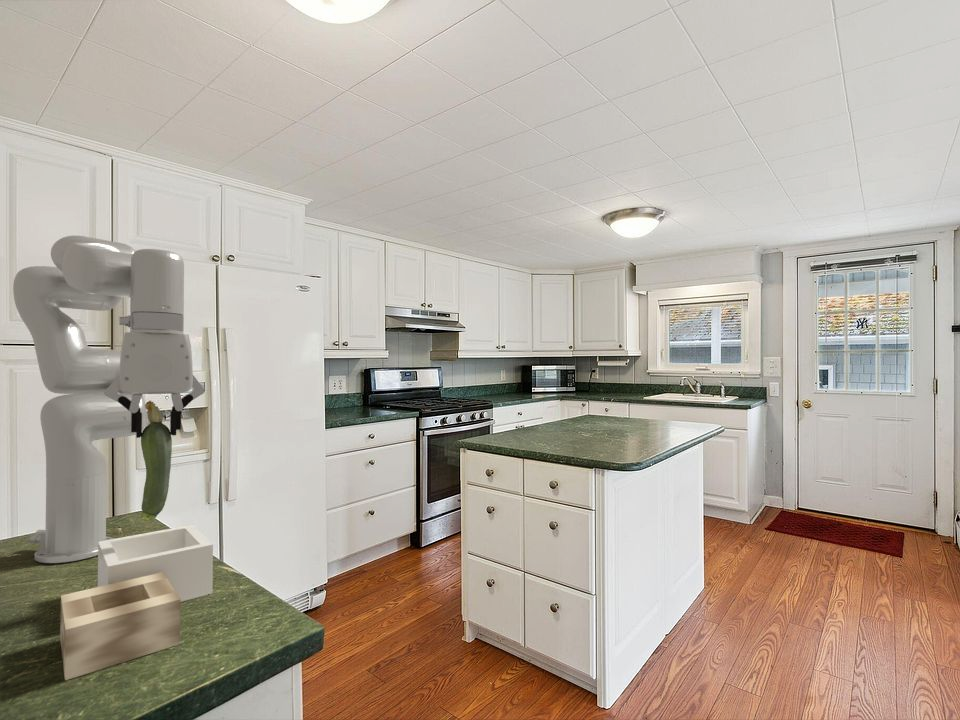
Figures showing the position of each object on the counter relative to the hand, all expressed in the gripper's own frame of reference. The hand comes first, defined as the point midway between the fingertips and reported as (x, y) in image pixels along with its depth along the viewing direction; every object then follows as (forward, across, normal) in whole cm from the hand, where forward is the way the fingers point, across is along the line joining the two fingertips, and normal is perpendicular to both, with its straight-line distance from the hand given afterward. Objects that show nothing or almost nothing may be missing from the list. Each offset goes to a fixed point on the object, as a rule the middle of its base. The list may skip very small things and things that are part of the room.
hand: (156, 434), depth 85 cm
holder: (+26, -4, -16) cm, 31 cm away
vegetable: (+15, 0, 0) cm, 15 cm away
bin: (+26, 0, 0) cm, 26 cm away
